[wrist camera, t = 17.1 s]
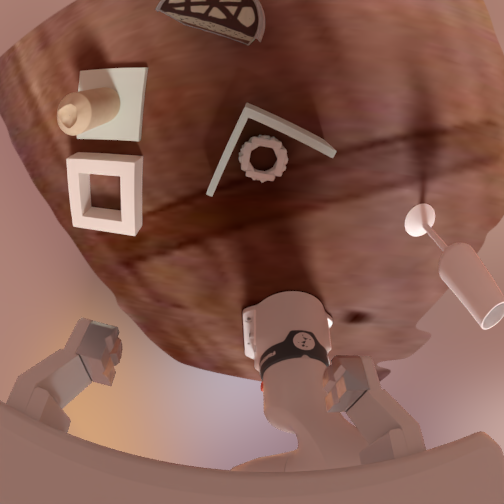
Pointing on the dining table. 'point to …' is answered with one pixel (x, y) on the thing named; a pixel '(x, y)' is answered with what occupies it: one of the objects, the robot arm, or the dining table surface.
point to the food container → (219, 17)
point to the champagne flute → (461, 270)
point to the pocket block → (130, 184)
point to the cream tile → (131, 101)
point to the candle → (87, 110)
